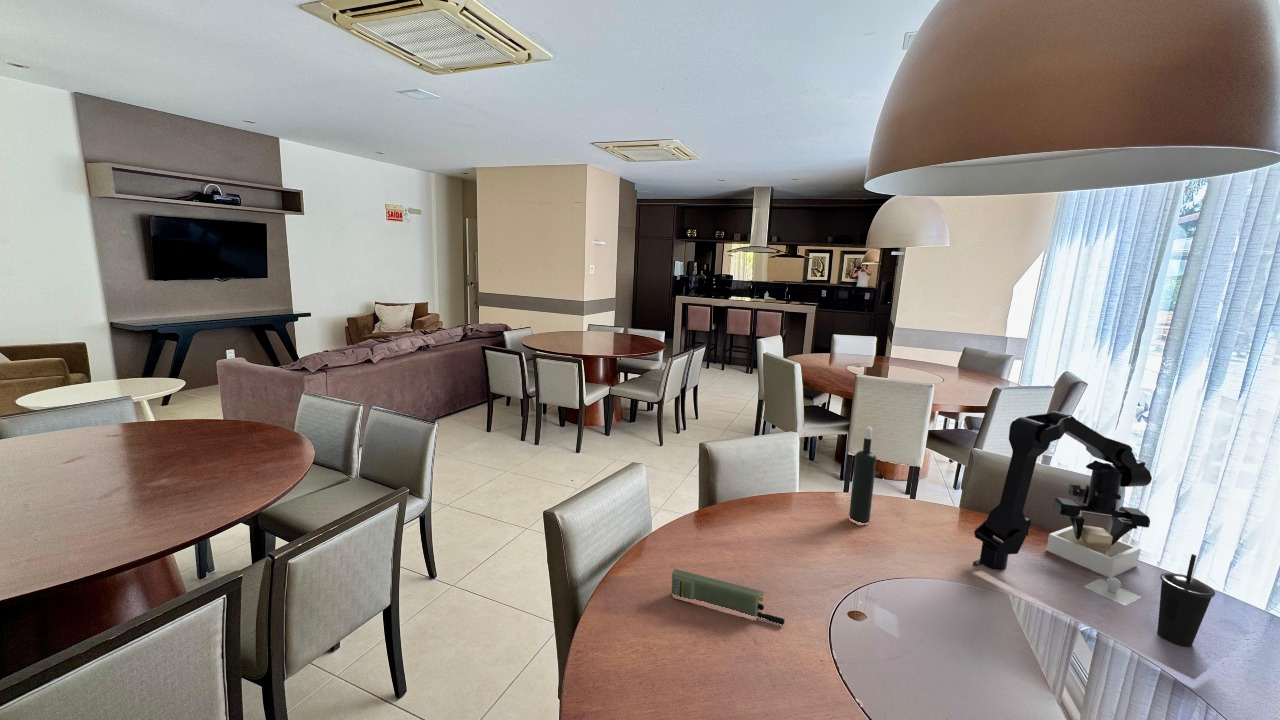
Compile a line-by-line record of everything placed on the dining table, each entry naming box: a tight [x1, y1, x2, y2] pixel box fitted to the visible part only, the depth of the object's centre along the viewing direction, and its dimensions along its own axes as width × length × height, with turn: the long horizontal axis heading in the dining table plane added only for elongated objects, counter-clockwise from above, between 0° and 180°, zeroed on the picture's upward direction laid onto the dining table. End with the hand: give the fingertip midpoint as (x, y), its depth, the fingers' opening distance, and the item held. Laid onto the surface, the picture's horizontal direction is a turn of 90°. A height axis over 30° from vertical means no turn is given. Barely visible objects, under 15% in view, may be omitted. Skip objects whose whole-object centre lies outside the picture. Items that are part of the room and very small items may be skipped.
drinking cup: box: [1156, 553, 1216, 648], centre depth 104 cm, size 8×8×20 cm
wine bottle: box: [848, 426, 877, 523], centre depth 152 cm, size 6×6×30 cm
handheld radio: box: [671, 568, 785, 626], centre depth 111 cm, size 7×3×25 cm
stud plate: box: [1082, 577, 1142, 607], centre depth 120 cm, size 8×8×5 cm
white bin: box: [1046, 525, 1141, 578], centre depth 135 cm, size 14×14×6 cm
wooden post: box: [1075, 524, 1113, 557], centre depth 135 cm, size 5×5×8 cm
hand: (1093, 541), depth 135 cm, fingers open, 7 cm apart
